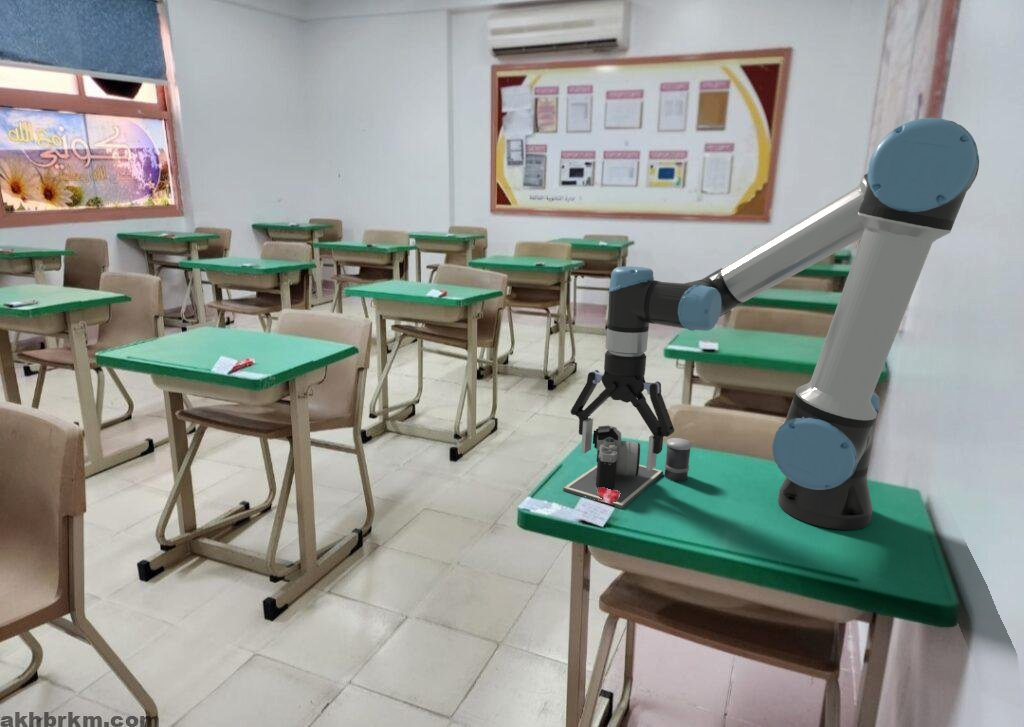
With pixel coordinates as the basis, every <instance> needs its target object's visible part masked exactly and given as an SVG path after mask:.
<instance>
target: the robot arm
mask: <svg viewBox="0 0 1024 727" xmlns="http://www.w3.org/2000/svg"><path fill="white" fill-rule="evenodd" d="M979 166H980V156H979V152H978V146H977V143H976V141H975V138H974V137H973V135H972V134H971V133H970V132H969V131H968V130H967V129H966V128H965V127H964V126H963V125H961V124H958V123H957V122H956V121H953V120H949V119H943V118H941V117H939V118H937V117H925V118H919V119H914V120H910V121H908V122H906V123H903V124H901V125H899V126H897V127H895V128H894V129H893V130H891V131H890V132H888V133H887V134H885V136H884V137H883V138H882V139H881V140H880V142H879V143H878V144H877V145H876V147H875V149H874V151H873V153H872V154H871V157H870V159H869V163H868V169H867V173H865V174H864V175H862V177H861V180H860V182H859V184H858V186H856V187H855V188H853V189H851V190H850V191H848V192H847V193H845V194H843V195H841V196H839V197H838V198H836V199H835V200H833V201H831V202H829V203H827V204H826V205H825V206H823V207H821V208H820V209H818V210H816V211H814V212H813V213H811V214H810V215H808V216H806V217H805V218H803V219H801V220H800V221H798V222H795V224H793V225H791V226H789V227H787V228H786V229H784V230H782V231H781V232H779V233H777V234H776V235H774V236H772V237H771V238H769V239H767V240H766V241H764V242H763V243H761V244H759V245H758V246H756V247H753V248H752V249H751V250H749V251H747V252H746V253H744V254H743V255H741V256H739V257H738V258H735V259H733V260H732V261H731V262H728V263H727V264H726V265H724V266H722V267H721V268H719V269H717V270H714V272H712V273H710V274H708V275H707V276H705V277H704V278H701V279H699V280H694V281H693V280H692V281H688V282H684V283H683V282H681V283H679V282H669V281H667V282H666V281H660V280H655V277H654V271H653V270H652V269H651V268H649V267H643V266H617V267H615V268H614V269H613V270H612V271H611V274H610V281H609V282H610V284H609V290H608V294H609V296H608V309H607V323H606V324H607V326H606V335H605V346H604V347H605V349H606V350H607V351H606V352H605V353H604V363H603V364H604V365H603V366H604V367H603V370H604V372H603V373H601V372H600V371H599V370H597V369H595V370H592V371H591V372H588V374H587V379H586V383H585V384H584V387H583V388H582V390H581V392H580V394H578V397H577V399H576V401H574V404H573V405H572V407H571V409H570V414H571V415H572V416H576V417H577V418H578V421H579V423H578V434H579V435H580V436H581V450H580V452H581V454H586V453H588V452H589V451H591V450H592V443H593V426H594V425H593V424H594V418H593V417H590V416H592V414H593V413H594V412H595V411H596V410H597V409H598V408H600V406H602V405H603V404H604V403H605V402H606V401H607V400H609V398H611V400H614V401H621V402H622V403H623V402H624V403H631V405H632V406H633V408H635V409H636V410H637V412H638V414H640V416H641V418H642V419H643V421H644V423H645V424H646V426H647V427H648V429H649V430H650V433H651V435H650V436H649V437H648V446H647V456H646V457H647V458H646V470H648V471H651V470H652V469H653V468H654V469H655V468H656V466H657V457H658V456H657V455H659V454H660V453H662V450H663V444H664V437H666V438H667V437H670V436H671V435H673V434H674V432H675V428H674V425H673V423H672V418H671V417H670V413H669V411H668V409H667V406H666V402H665V400H664V398H663V395H662V384H661V381H655V382H648V381H647V382H646V380H645V374H646V364H647V355H646V353H645V352H647V350H648V340H649V339H648V338H649V329H650V328H649V327H650V324H653V325H661V326H668V327H673V328H679V329H686V330H689V331H695V330H696V331H702V332H705V331H707V332H708V331H711V330H713V329H714V328H715V326H716V324H717V323H718V322H719V320H720V318H721V317H722V316H724V315H727V314H728V313H730V311H732V310H733V309H735V308H737V307H739V306H740V305H742V304H744V303H746V302H747V301H749V300H750V299H752V298H754V297H756V296H758V295H759V294H762V293H763V292H765V291H768V290H769V289H771V288H772V287H774V286H776V285H779V284H780V283H782V282H784V281H786V280H788V279H789V278H791V277H793V276H795V275H797V274H798V273H800V272H802V271H804V270H806V269H807V268H809V267H811V266H813V265H815V264H817V263H819V262H821V261H822V260H825V259H826V258H828V257H829V256H832V255H833V254H835V253H837V252H839V251H841V250H843V249H845V248H846V247H848V246H850V245H852V244H855V242H858V241H859V240H860V241H859V244H858V247H857V249H856V252H855V255H854V257H853V261H852V264H851V266H850V269H849V272H848V275H847V278H846V280H845V283H844V285H843V288H842V289H843V290H842V292H841V295H840V296H839V300H838V303H837V305H836V308H835V312H834V314H833V316H832V319H831V322H830V325H829V327H828V331H827V334H826V336H825V339H824V342H823V344H822V345H823V346H822V347H821V351H820V353H819V356H818V358H817V362H816V365H815V367H814V371H813V373H812V377H811V379H810V381H809V382H808V383H805V384H803V385H800V386H799V387H797V388H796V390H795V392H794V395H793V398H792V401H791V403H790V407H789V410H788V412H787V415H786V418H785V420H784V423H783V424H782V425H781V426H779V427H778V429H777V430H776V432H775V434H774V437H773V441H772V447H771V449H772V457H773V459H774V462H775V464H776V465H777V468H778V469H779V470H780V472H781V473H782V474H783V475H784V476H785V479H784V481H783V482H782V483H781V486H780V488H779V490H778V498H777V504H778V505H779V507H780V508H781V509H782V510H783V511H784V512H785V513H787V515H790V516H792V517H793V518H795V519H797V520H800V521H801V522H805V523H807V524H810V525H814V526H818V527H820V528H825V529H830V530H831V529H832V530H842V531H843V530H844V531H847V530H848V531H852V530H853V531H854V530H859V529H862V528H865V527H867V526H869V525H870V523H871V520H872V515H873V504H872V499H871V494H870V489H869V482H868V478H867V477H868V471H869V466H870V459H871V453H872V447H873V441H874V436H875V435H874V434H875V432H876V425H877V419H878V415H879V413H880V411H881V410H880V401H881V400H880V396H879V395H878V394H877V393H876V392H875V389H876V387H877V385H878V382H879V379H880V376H881V374H882V372H883V369H884V367H885V364H886V361H887V359H888V357H889V354H890V351H891V350H892V346H893V344H894V341H895V338H896V337H897V333H898V332H899V329H900V325H901V323H902V321H903V319H904V316H905V314H906V311H907V308H908V306H909V303H910V301H911V299H912V295H913V294H914V291H915V288H916V286H917V282H918V280H919V277H920V276H921V273H922V270H923V268H924V265H925V262H926V260H927V257H928V255H929V252H930V250H931V247H932V245H933V243H934V242H935V241H937V240H939V239H941V238H943V237H945V236H946V235H948V234H951V231H952V229H953V227H954V224H955V221H956V220H957V217H958V214H959V212H960V209H961V207H962V204H963V202H964V199H965V196H966V195H967V192H968V191H969V189H970V188H971V187H972V185H973V184H974V182H975V180H976V178H977V176H978V172H979ZM600 382H602V385H603V386H604V388H605V389H603V390H602V391H601V392H600V393H599V395H598V396H597V397H596V398H595V399H594V400H593V401H592V402H591V403H590V404H589V405H587V407H586V408H584V407H585V405H586V404H587V403H588V400H589V399H590V397H591V395H592V394H593V392H594V390H595V389H596V387H597V385H598V384H600ZM644 390H646V392H647V395H649V398H650V401H651V404H652V408H653V410H654V412H653V410H652V408H651V407H650V405H649V404H648V402H647V399H646V397H645V395H644V394H643V391H644Z"/></svg>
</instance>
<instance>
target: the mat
mask: <svg viewBox="0 0 1024 727" xmlns="http://www.w3.org/2000/svg"><path fill="white" fill-rule="evenodd" d="M646 467H647V465H646V466H645V465H643V464H642V465H641V464H639V471H638V475H637V476H629V475H627V476H624V475H615V488H614V490H618V491H620V493H621V494H620V497H619V499H618V500H617V501H616V502H613V503H614V504H615V505H614V506H615V508H618V509H621V510H623V509H624V508H626V507H627V506H628V505H629V504H630V503H631V502H633V501H634V500H635V499H636V498H637V497H638V496H640V495H641V494H642V493H643V492H644V491H645V490H646V489H647V488H649V486H651V485H652V484H653V483H654V482H656V481H657V480H658V479H659V478H661V477H662V476H663V475H662V474H664V471H663V470H660V469H656V468H655V467H654V468H653V469H652V470H651V471H648V470H646ZM596 476H597V464H596V465H595V466H593V467H592V468H590V469H589V470H588V471H586V472H584V473H583V474H581V475H579V476H578V477H577V478H575V479H574V480H572V481H570V482H569V483H568V484H567V485H566V486H564V487H563V489H562V490H563V492H566V493H569V494H572V495H576V496H580V497H582V496H586V497H588V498H591V499H590V500H592V499H595V500H598V499H599V500H601V499H602V498H600V497H599V496H598V493H597V490H596ZM588 498H587V499H588ZM595 500H594V501H595ZM614 506H613V507H614Z"/></svg>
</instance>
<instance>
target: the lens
mask: <svg viewBox="0 0 1024 727" xmlns="http://www.w3.org/2000/svg"><path fill="white" fill-rule="evenodd" d="M692 445H693V444H692V442H691V440H688V439H685V438H680V437H672V438H668V439H667V440H666V456H665V457H666V458H665V463H664V475H665V476H664V478H666V477H667V478H668V479H667V478H666V479H667V480H669V479H671V480H670V481H672V480H673V482H679V481H680V482H685V481H687V480H688V474H689V471H690V470H689V469H690V458H691V456H690V455H691V449H692ZM686 479H687V480H686ZM684 480H685V481H684Z"/></svg>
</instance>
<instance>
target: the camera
mask: <svg viewBox="0 0 1024 727" xmlns="http://www.w3.org/2000/svg"><path fill="white" fill-rule="evenodd" d="M592 444H594V446H593V448H594V449H596V450H597V452H596V463H597V464H596V465H597V476H596V490H598V487H605V488H608V489H611V490H614V488H615V475H624V476H627V475H629V476H637V475H638V471H639V465H640V460H641V443H640V442H632V441H630V440H622V432H621V431H620V430H618V428H617V427H615V426H612V425H609V424H608V425H600V426H598V428H596V429H595V430H593V433H592Z"/></svg>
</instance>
